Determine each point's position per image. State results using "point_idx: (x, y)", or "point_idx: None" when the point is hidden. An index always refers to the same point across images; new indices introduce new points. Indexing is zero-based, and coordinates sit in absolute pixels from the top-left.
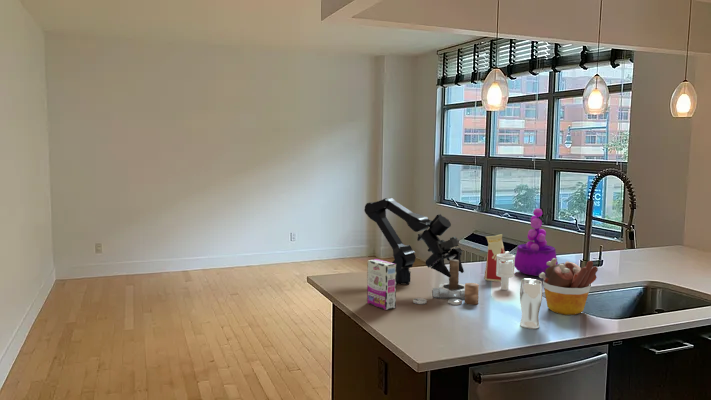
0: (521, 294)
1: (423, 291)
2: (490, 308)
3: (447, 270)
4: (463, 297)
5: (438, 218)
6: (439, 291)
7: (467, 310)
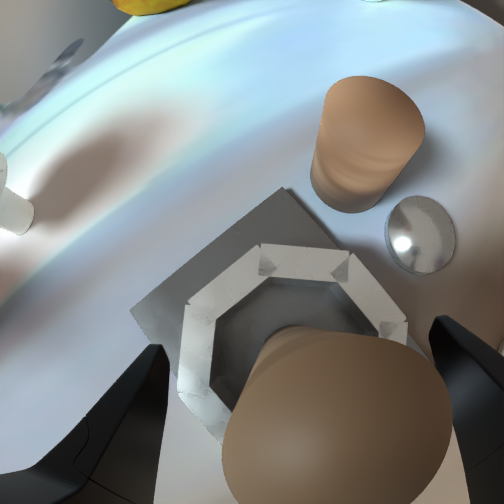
0: None
1: None
2: None
3: (490, 353)
4: (327, 247)
5: None
6: None
7: (439, 136)
